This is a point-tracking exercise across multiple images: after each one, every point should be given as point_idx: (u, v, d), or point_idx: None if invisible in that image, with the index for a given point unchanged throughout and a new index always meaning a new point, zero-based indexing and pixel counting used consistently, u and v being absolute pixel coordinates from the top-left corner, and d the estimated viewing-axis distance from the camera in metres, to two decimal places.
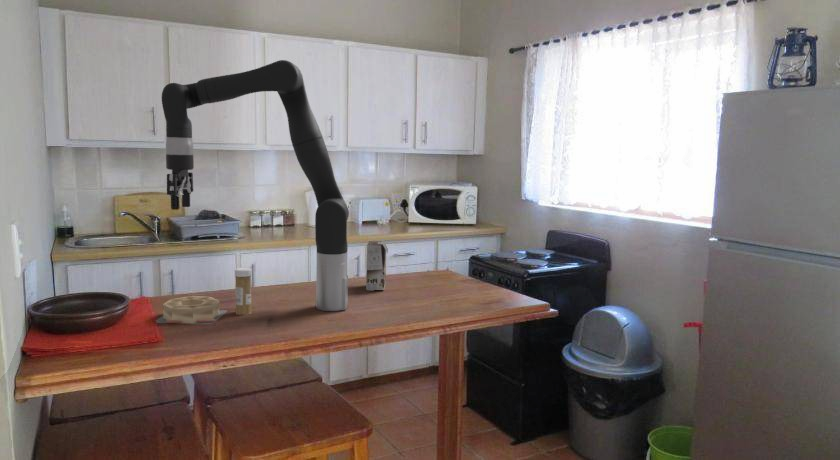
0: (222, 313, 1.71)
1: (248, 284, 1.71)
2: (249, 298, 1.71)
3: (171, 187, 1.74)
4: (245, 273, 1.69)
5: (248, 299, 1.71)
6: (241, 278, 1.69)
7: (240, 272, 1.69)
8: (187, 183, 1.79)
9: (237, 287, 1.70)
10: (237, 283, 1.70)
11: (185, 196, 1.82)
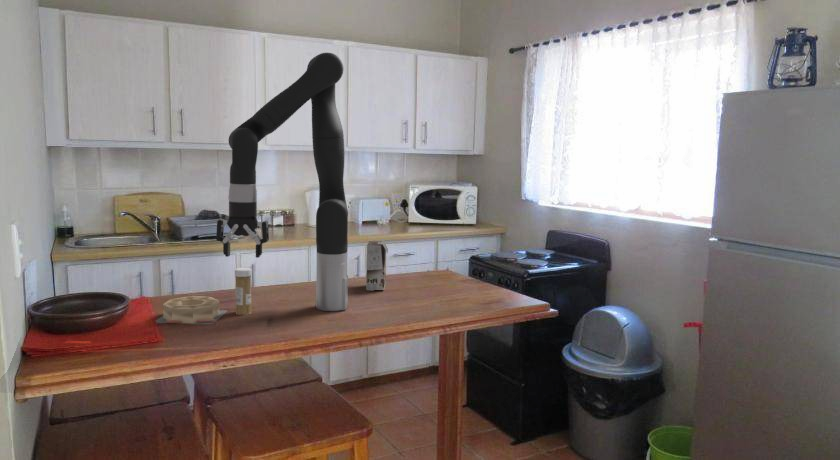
0: (222, 313, 1.71)
1: (248, 284, 1.71)
2: (249, 298, 1.71)
3: (255, 235, 1.69)
4: (245, 273, 1.69)
5: (248, 299, 1.71)
6: (241, 278, 1.69)
7: (240, 272, 1.69)
8: None
9: (237, 287, 1.70)
10: (237, 283, 1.70)
11: (228, 245, 1.70)
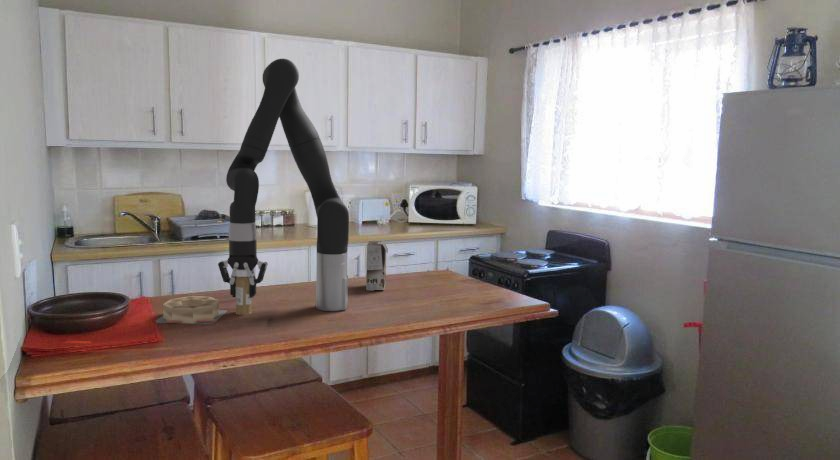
0: (222, 313, 1.71)
1: (248, 284, 1.71)
2: (249, 298, 1.71)
3: (252, 275, 1.70)
4: (245, 273, 1.69)
5: (248, 299, 1.71)
6: (241, 278, 1.69)
7: (240, 272, 1.69)
8: None
9: (237, 287, 1.70)
10: (237, 283, 1.70)
11: (235, 285, 1.72)
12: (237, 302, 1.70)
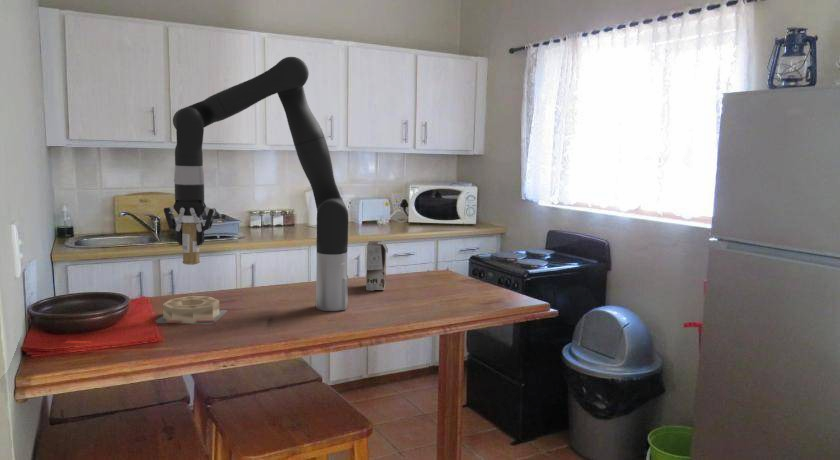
0: (222, 313, 1.71)
1: (195, 231, 1.63)
2: (196, 246, 1.64)
3: (199, 222, 1.63)
4: (191, 219, 1.62)
5: (195, 247, 1.64)
6: (188, 224, 1.62)
7: (186, 218, 1.62)
8: None
9: (184, 234, 1.63)
10: (184, 229, 1.63)
11: None
12: (184, 250, 1.63)
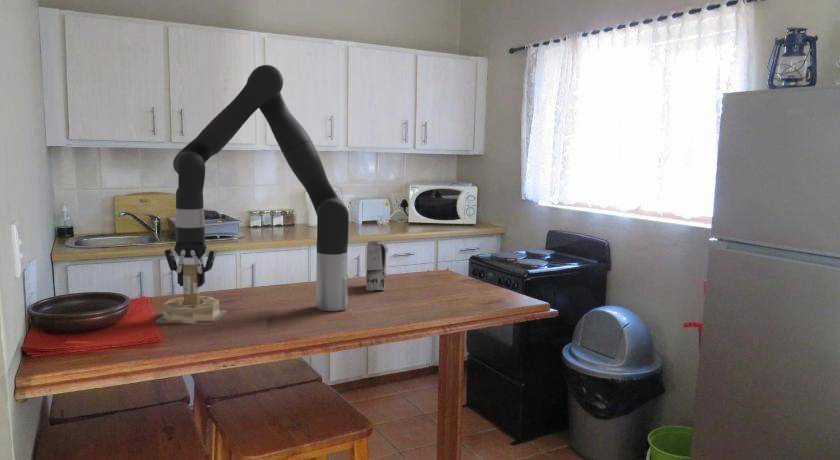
0: (222, 313, 1.71)
1: (196, 272, 1.65)
2: (197, 287, 1.66)
3: (200, 263, 1.65)
4: (192, 261, 1.64)
5: (196, 288, 1.65)
6: (189, 266, 1.64)
7: (187, 260, 1.63)
8: None
9: (184, 275, 1.64)
10: (184, 271, 1.64)
11: None
12: (184, 291, 1.65)
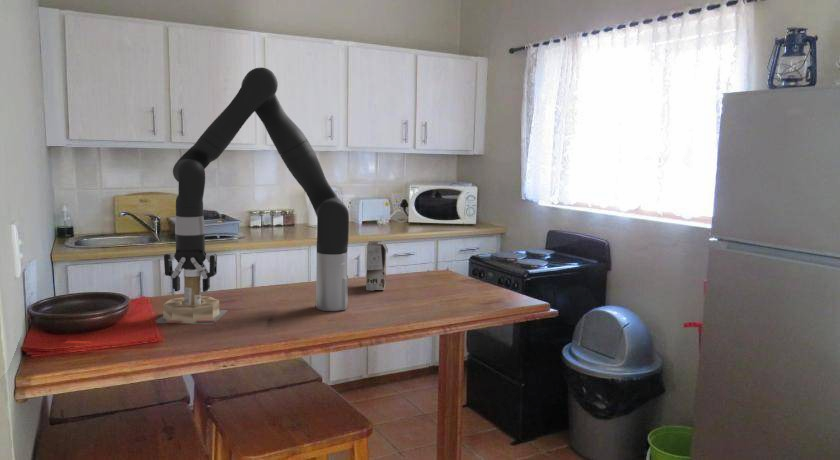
0: (222, 313, 1.71)
1: (197, 284, 1.65)
2: (198, 299, 1.66)
3: (203, 269, 1.65)
4: (193, 273, 1.64)
5: (197, 300, 1.66)
6: (190, 278, 1.64)
7: (189, 272, 1.64)
8: None
9: (186, 287, 1.65)
10: (186, 283, 1.65)
11: (178, 279, 1.66)
12: (185, 303, 1.65)
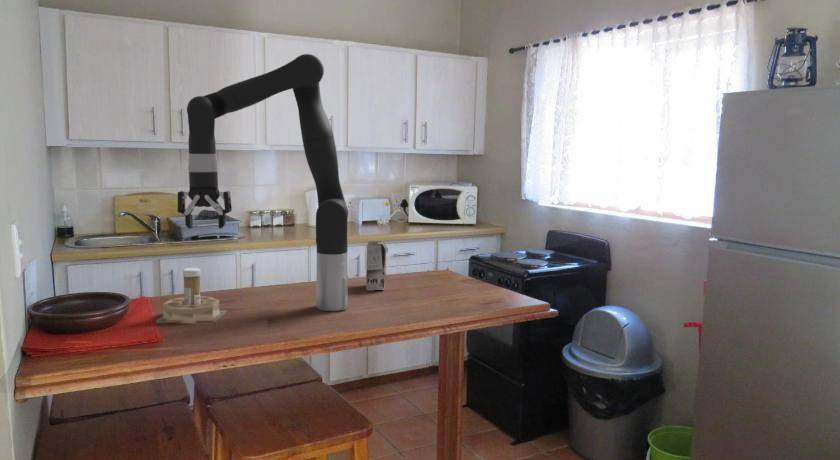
0: (222, 313, 1.71)
1: (197, 285, 1.65)
2: (198, 299, 1.66)
3: (217, 206, 1.67)
4: (193, 273, 1.64)
5: (197, 300, 1.66)
6: (189, 278, 1.64)
7: (188, 272, 1.64)
8: None
9: (185, 288, 1.65)
10: (185, 283, 1.65)
11: (191, 216, 1.68)
12: (185, 303, 1.65)
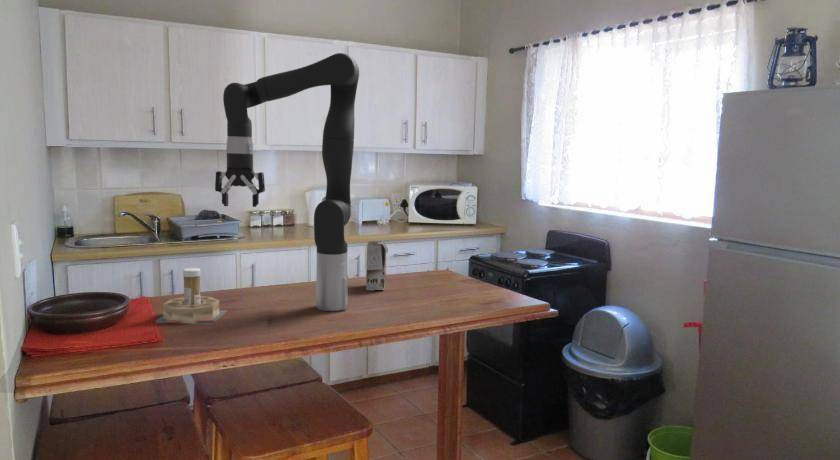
0: (222, 313, 1.71)
1: (197, 285, 1.65)
2: (198, 299, 1.66)
3: (252, 185, 1.79)
4: (193, 273, 1.64)
5: (197, 300, 1.66)
6: (189, 278, 1.64)
7: (188, 272, 1.64)
8: None
9: (185, 288, 1.65)
10: (185, 283, 1.65)
11: (227, 195, 1.80)
12: (185, 303, 1.65)
